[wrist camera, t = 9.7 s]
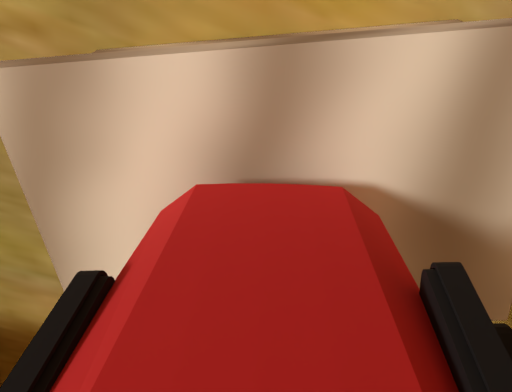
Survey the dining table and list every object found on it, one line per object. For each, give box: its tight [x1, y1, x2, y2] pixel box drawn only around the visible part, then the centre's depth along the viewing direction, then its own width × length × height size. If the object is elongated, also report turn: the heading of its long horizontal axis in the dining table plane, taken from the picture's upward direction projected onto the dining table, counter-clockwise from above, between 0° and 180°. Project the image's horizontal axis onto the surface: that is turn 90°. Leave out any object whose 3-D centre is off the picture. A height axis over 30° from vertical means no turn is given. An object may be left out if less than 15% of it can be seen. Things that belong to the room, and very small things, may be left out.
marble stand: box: [0, 18, 512, 320], centre depth 17 cm, size 16×10×6 cm, turn 95°
